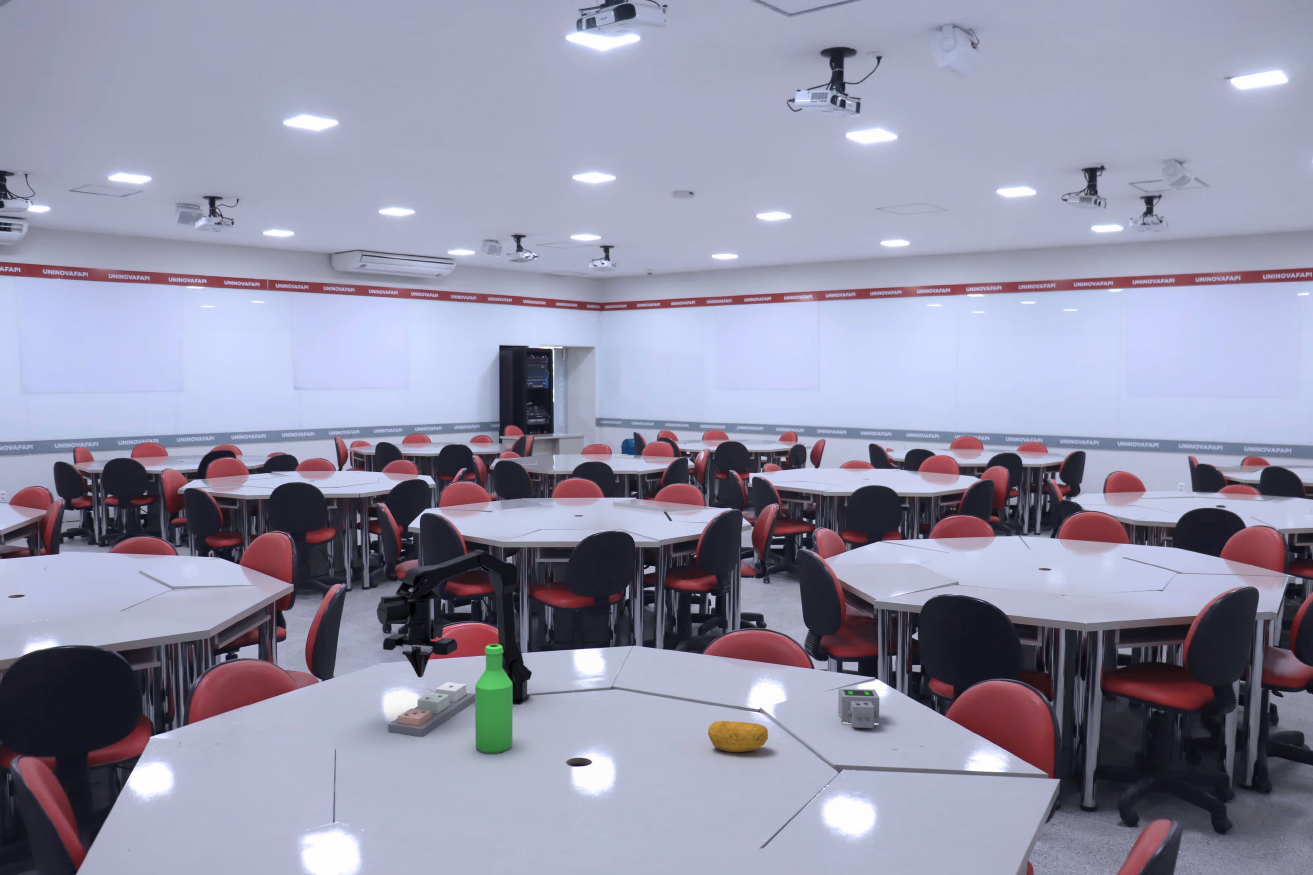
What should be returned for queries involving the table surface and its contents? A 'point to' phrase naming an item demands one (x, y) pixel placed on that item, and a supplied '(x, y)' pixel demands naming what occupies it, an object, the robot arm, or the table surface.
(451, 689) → the tile
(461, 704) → the board
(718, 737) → the potato
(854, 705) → the toy
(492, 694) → the bottle
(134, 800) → the table surface
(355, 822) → the table surface
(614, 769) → the table surface
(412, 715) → the tile
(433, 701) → the tile
